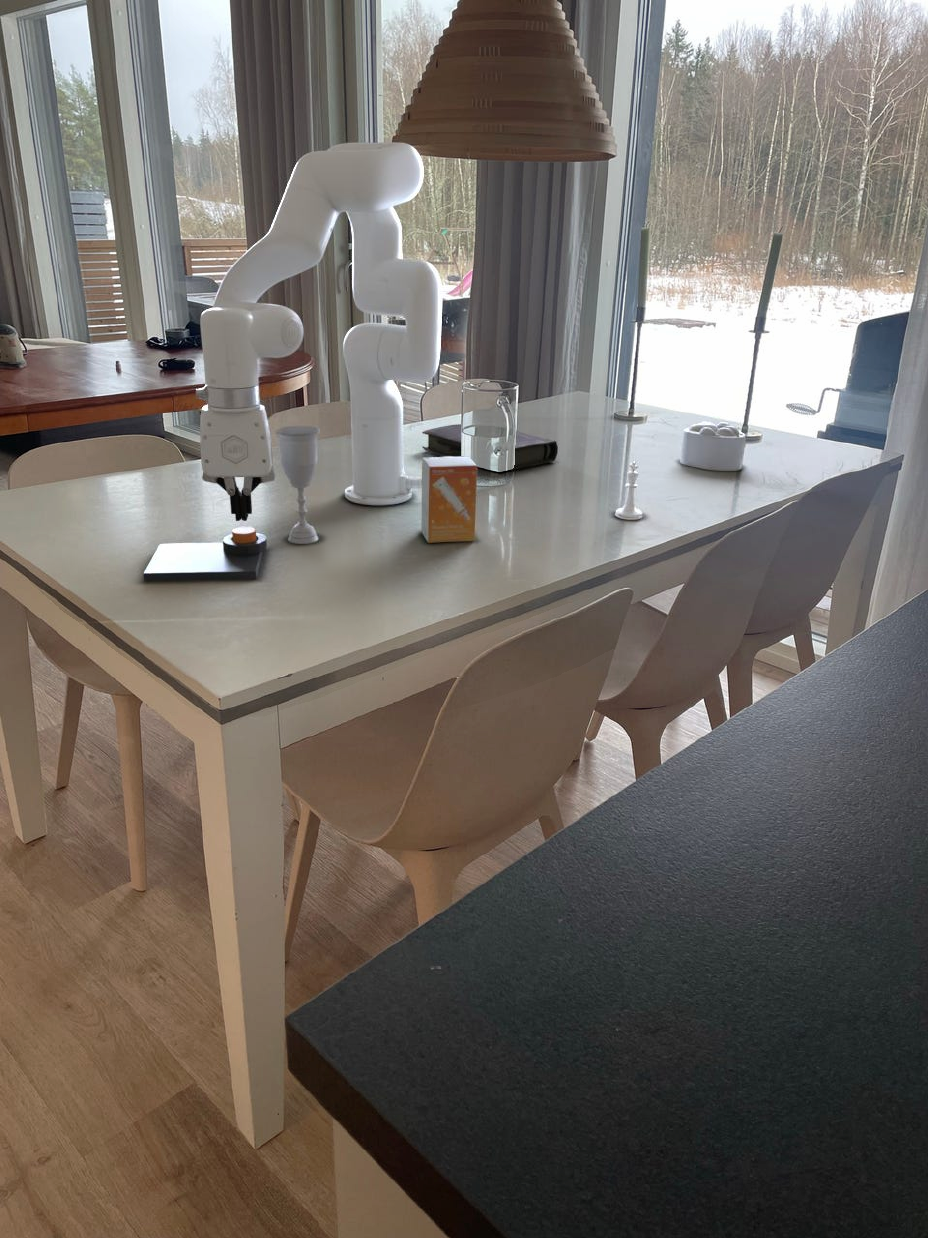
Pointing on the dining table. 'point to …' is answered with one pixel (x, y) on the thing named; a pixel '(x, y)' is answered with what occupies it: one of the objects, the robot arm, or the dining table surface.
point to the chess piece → (630, 498)
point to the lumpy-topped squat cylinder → (713, 447)
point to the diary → (526, 447)
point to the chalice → (299, 472)
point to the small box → (449, 499)
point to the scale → (206, 561)
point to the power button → (244, 535)
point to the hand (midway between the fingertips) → (242, 518)
